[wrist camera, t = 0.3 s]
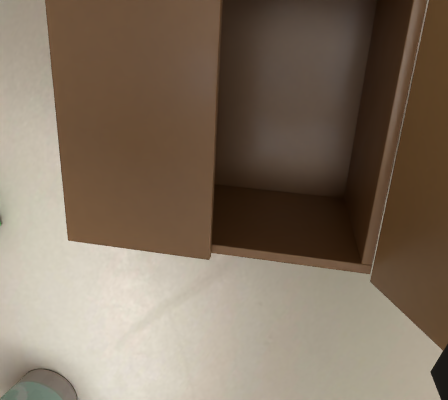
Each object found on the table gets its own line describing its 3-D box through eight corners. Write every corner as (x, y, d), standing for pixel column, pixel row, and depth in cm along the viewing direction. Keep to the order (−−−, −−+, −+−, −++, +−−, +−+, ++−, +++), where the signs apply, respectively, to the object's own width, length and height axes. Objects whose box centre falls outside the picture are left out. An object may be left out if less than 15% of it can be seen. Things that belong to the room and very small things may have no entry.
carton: (386, -9, 23) (443, -47, 14) (349, 203, 28) (372, 283, 19) (136, -18, 26) (37, -55, 16) (140, 180, 30) (66, 241, 21)
